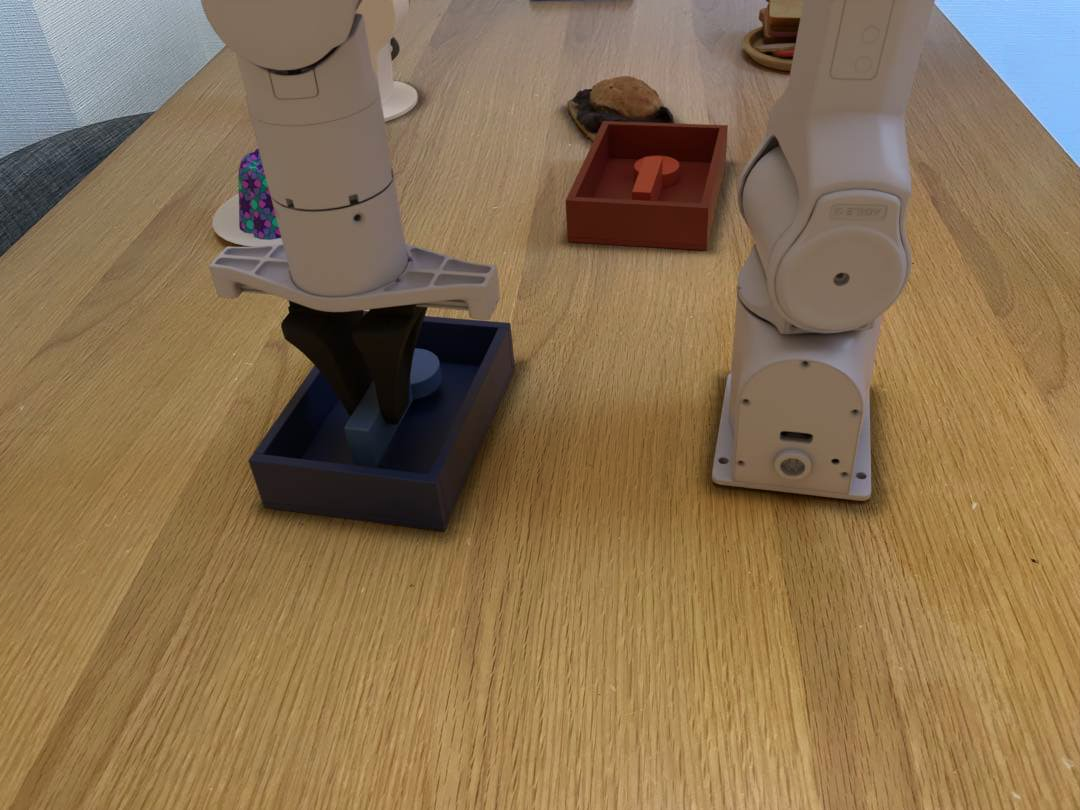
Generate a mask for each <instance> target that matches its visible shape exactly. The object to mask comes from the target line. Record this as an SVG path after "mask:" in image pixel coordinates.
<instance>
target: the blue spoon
mask: <svg viewBox="0 0 1080 810" xmlns="http://www.w3.org/2000/svg"><path fill="white" fill-rule="evenodd" d="M441 381H442V374H441V368H440V362H439V359H438V357H437V356H436V355H435V354H434V353H432V352H430V351H428V350H424V349H417V348H415V350H414V355H413V361H412V367H411V375H410V387H409V405H408V407H407V408H406V410H405V412H404V414H403V416H402V418H401V419H400V421H399V423H398V424H396V425H393V424H386V423H385V421H384V419H383V417H382V414H381V411H380V408H379V404H378V399H377V394H376V389H375V384H374V380H373V381H372V383H371V385H370V386H369V388H368V390H367V391H366V393H365V394H364V396H363V398H362V399H361V401H360V403H359V404H358V406H357V408H356V409H355V411H354V412H353V414H352V416H351V417H350V419H349V421H348V422H347V424H346V426H345V428H344V429H345V433H346V437H347V441H348V446H349V450H350V454H351V458H352V462H353V464H356V465H364V466H372V467H376V466H377V465H378V463H379V461H380V460H381V458H382V456H383V454H384V452H385V450H386V449H387V447H388V445H389V443H390V441H391V439H392V438H393V436H394V434H395V432H396V430H397V428H398V427H399V425H400V423H401V421H402V419H403V417H404V416H405V414H406V412H407V410H408V408H409V406H410V405H411V403H412V401H413V400H416V399H420V398H423V397H426V396H428V395H430V394H432V393H433V392H434V391H435V390H437V388H438V387H439V386H440V384H441Z"/></svg>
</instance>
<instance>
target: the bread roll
mask: <svg viewBox="0 0 1080 810" xmlns="http://www.w3.org/2000/svg"><path fill="white" fill-rule="evenodd" d="M566 104H567V105H566V106H567V107H566V108H567V109H568V112H569V114H570V116H571V117H572V119H573V120H574V123H576V125H577V128H580V130H581V131H582V132H583V133H584V134H585V135H586V136H585V138H587V139H588V138H589V139H590V141H592V142H593V141H594V139H595V137H596V135H597V133H598V131H599V129H600V126H601V124H602V122H603V121H616V122H646V123H675V121H674V116H673V114H672V112H671V111H670V109H669V108H668V107H667V106H664V103H663V101H662V99H661V98H660V95H659V94H658V92H657V90H655V89H653V88H652V87H651V86H650V85H649V84H648V83H646V82H645V81H644V80H641V79H639V78H636V77H634V76H630V75H624V76H615V77H612V78H608V79H607V78H606V79H603V80H601V81H598V82H597V83H596V84H594V85H592V88H584V89H583V90H578V91H577V93H576V94H575V96H574V97H573V98H570V99H569V100H567V102H566Z"/></svg>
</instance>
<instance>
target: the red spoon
mask: <svg viewBox="0 0 1080 810" xmlns="http://www.w3.org/2000/svg"><path fill="white" fill-rule="evenodd" d="M679 168H680V165H679V162H678V161H677V160H675V159H674V158H671V157H667V156H648V157H644V158H642V159H639V160H638V161H637V162H636V163H635V164H634V181H635V185H634V188H633V190H632V200H643V201H658V200H659V197H660V194H661V190H662V188H667V187H670V186H673V185H675V184H676V183H677V182H678V181H679Z"/></svg>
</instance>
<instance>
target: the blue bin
mask: <svg viewBox="0 0 1080 810" xmlns="http://www.w3.org/2000/svg"><path fill="white" fill-rule="evenodd" d="M366 312H367V313H368V312H369V310H363V313H364V315H365V314H366ZM511 326H512V325H511V323H510V322H502V321H494V320H493V321H490V320H482V319H467V318H457V317H456V318H455V317H444V316H429V315H425V316H424V319H423V322H422V325H421V328H420V332H419V335H418V338H417V342H416V346H415V348H417V349H424V350H428V351H430V352H432V353H434V354H435V355H436V356H437V357H438V359H439V362H440V368H441V374H442V381H441V384H440V386H439V387H438V388H437V390H435V391H434V392H433V393H432V394H430V395H428V396H426V397H423V398H420V399H416V400H413V401H412V403H411V405H410V406H409V408H408V410H407V412H406V414H405V416H404V417H403V419H402V421H401V423H400V425H399V427H398V428H397V430H396V432H395V434H394V436H393V438H392V439H391V441H390V443H389V445H388V447H387V449H386V450H385V452H384V454H383V456H382V458H381V460H380V461H379V463H378V465H377V466H376V467H372V466H364V465H356V464H353V462H352V458H351V454H350V450H349V446H348V441H347V437H346V433H345V429H344V428H345V426H346V424H347V422H348V421H349V419H350V416H349V414H348V412H347V411H346V409H345V407H344V406H343V404H342V402H341V401H340V399H339V397H338V396H337V394H336V393H335V391H334V389H333V388H332V386H331V385H330V383H329V382H328V381H327V379H326V378H325V377H324V375H323V374H322V373H321V372H320V370H319V369H318V368H317V367H316V366H315V365H314V364H313V367H312V368H311V369H310V371H309V372H308V374H307V375H306V377H304V379H303V381H302V382H301V384H300V385H299V386H298V388H297V389H296V391H295V393H293V395H292V397H291V398H290V400H289V401H288V403H287V404H286V405H285V407H284V408H283V410H282V411H281V412H280V414H279V415H278V417H277V418H276V420H275V421H274V423H273V424H272V425H271V427H270V428H269V430H268V431H267V432H266V434H265V435H264V437H263V438H262V439H261V441H260V443H258V445H257V447H256V448H255V450H254V452H253V453H252V454H251V456H250V457H249V458H248V461H247V462H248V464H249V467H250V470H251V473H252V476H253V479H254V482H255V485H256V488H257V492H258V494H259V497H260V500H261V504H262V506H263V508H265V509H266V508H267V509H274V510H281V511H288V512H294V513H295V512H297V513H301V514H303V513H304V514H311V515H318V516H324V517H333V518H341V519H347V520H355V521H361V522H362V521H363V522H371V523H377V524H385V525H392V526H399V527H408V528H415V529H422V530H430V531H437V532H445V530H446V528H447V526H448V523H449V521H450V519H451V516H452V514H453V512H454V509H455V507H456V505H457V503H458V500H459V499H460V496H461V493H462V491H463V490H464V487H465V484H466V482H467V479H468V477H469V475H470V473H471V470H472V468H473V465H474V463H475V461H476V459H477V456H478V454H479V452H480V450H481V448H482V445H483V443H484V441H485V438H486V437H487V434H488V431H489V429H490V427H491V425H492V422H493V420H494V417H495V416H496V413H497V411H498V409H499V406H500V404H501V402H502V399H503V397H504V395H505V392H506V390H507V388H508V386H509V383H510V381H511V379H512V376H513V374H514V372H515V370H516V364H515V363H516V362H515V355H514V346H513V336H512V335H513V333H512V327H511Z"/></svg>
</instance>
